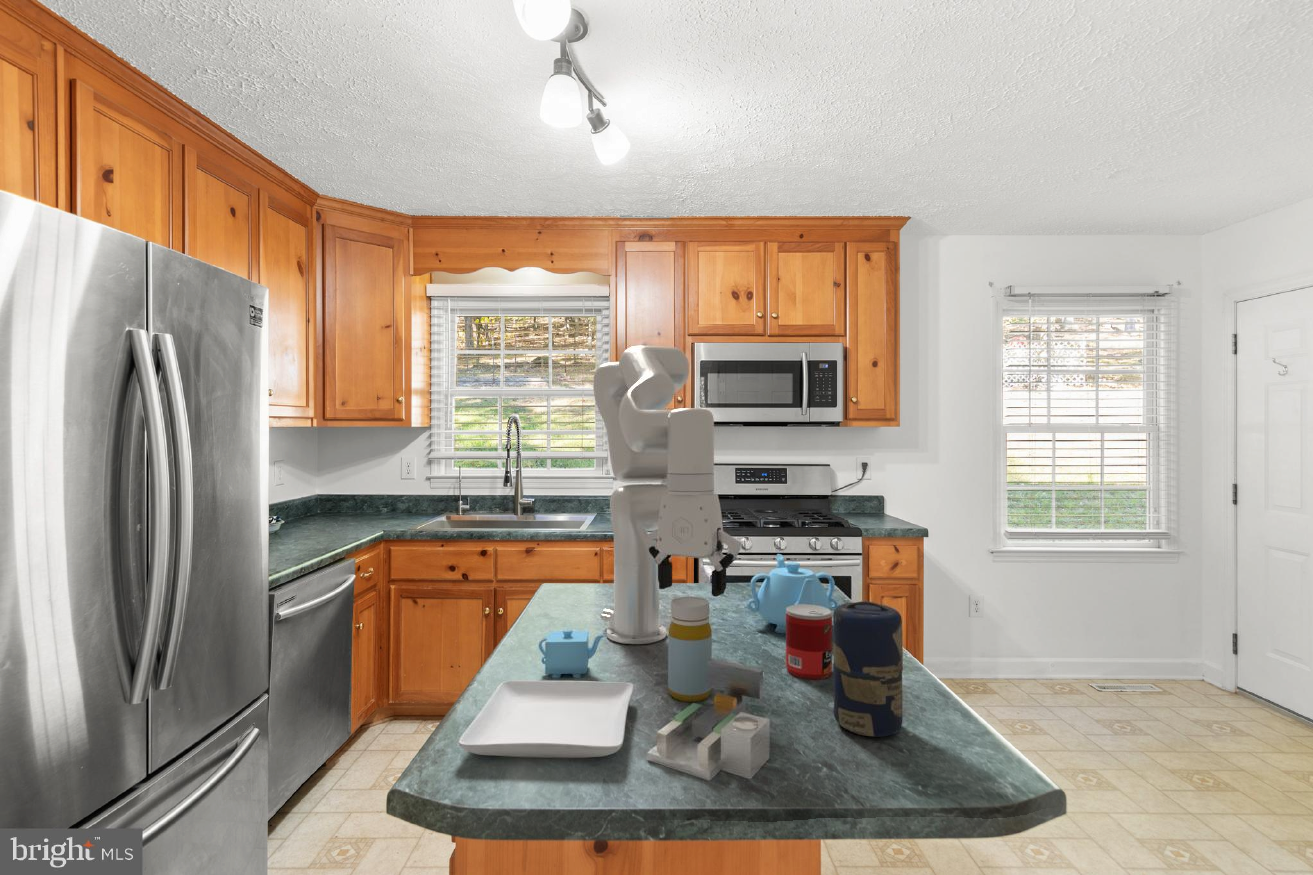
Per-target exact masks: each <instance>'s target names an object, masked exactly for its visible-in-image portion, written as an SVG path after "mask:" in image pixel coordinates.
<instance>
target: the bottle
mask: <svg viewBox="0 0 1313 875" xmlns="http://www.w3.org/2000/svg"><path fill="white" fill-rule="evenodd" d="M670 615H671V616H670V619H671V622H670V625H669V628H668V634H667V638H668V640H667V641H668V642H667V644H668V646H667V647H668V648H667V649H668V651H667V652H668V653H667V655H668V656H667V657H668V658H667V666H668V667H667V674H668V675H667V679H668V680H667V687H668V688H667V690H668V694H670V696H672V697H673V698H674V699H675V700H677V701H679V702H680V701H681V702H684V703H695V702H701V701H703V700H706V699H707V698H708V697H709V696H710V694H711V693H712V688H710V687H707V661H708V660H710V659H713V656H712V654H713V653H712V652H713V645H712V643H713V642H712V640H713V638H712V637H713V636H712V635H713V634H712V628H711V624H710V602H709V600H708V599H706V598H704V597H699V596H679V597H675V598H673V599H672V600H671V602H670Z"/></svg>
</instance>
